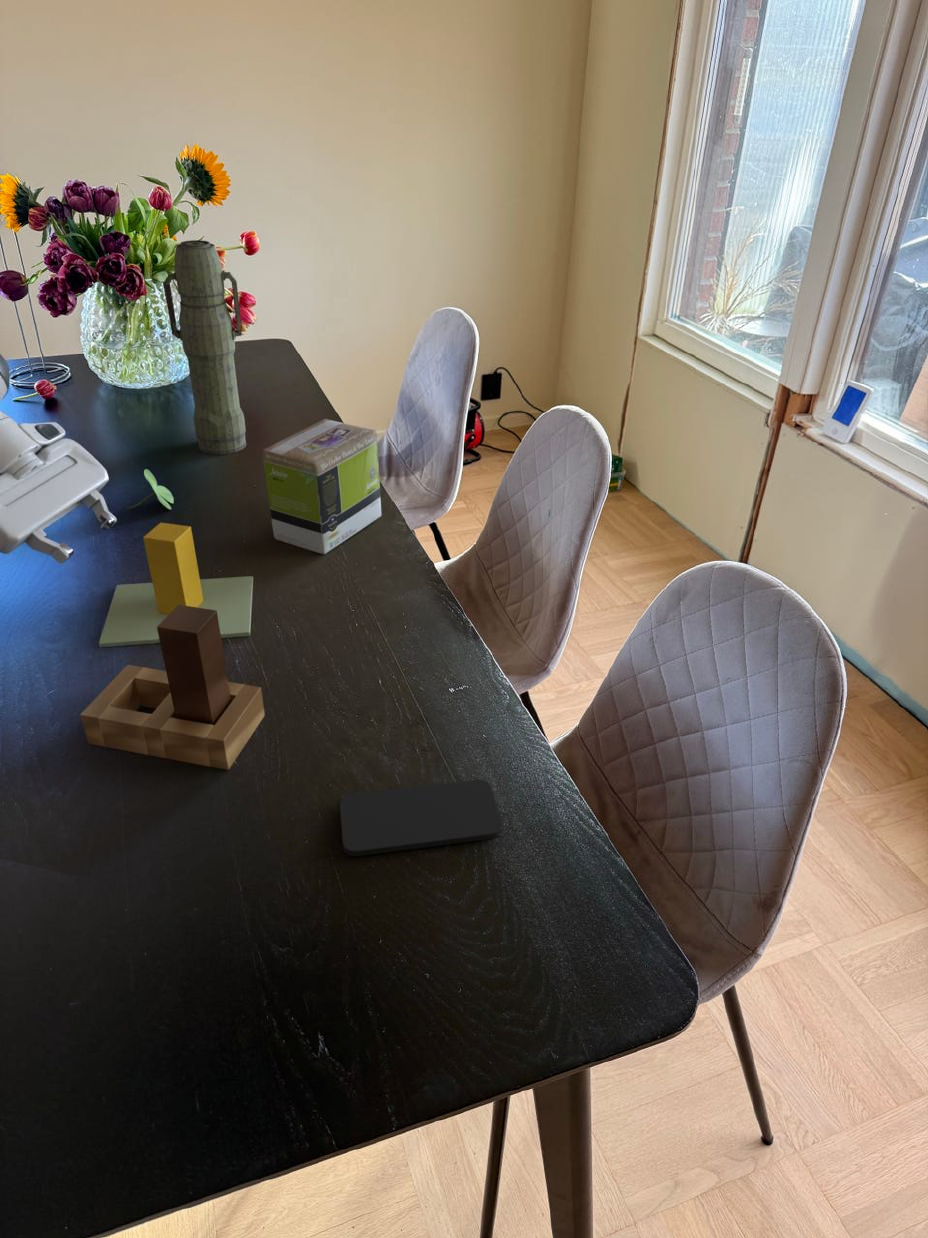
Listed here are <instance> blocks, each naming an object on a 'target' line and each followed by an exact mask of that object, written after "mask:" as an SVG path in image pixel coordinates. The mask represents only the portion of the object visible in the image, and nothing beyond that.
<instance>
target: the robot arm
mask: <svg viewBox="0 0 928 1238" xmlns="http://www.w3.org/2000/svg"><path fill="white" fill-rule="evenodd" d="M10 374H11V373H10V366H9V364H8V362H7V360H6V359H5V358H4V356H3V355H2V354H1V353H0V402H1V401H2V400H3V399H4V398H5V397H6V396H7V394H8V393H9V389H10V379H11V378H10V377H11V375H10ZM65 435H66V430H65V429H64V428H63V427H62V426H61V425H60V424H59V423H57V422H55V421H47V422H34V423H33V422H32V423H31V422H20V423H18V422H16V421H15V420H14V419H13V418H12V417H11V416H9V415H8V414H6V413H5V412H3V411H1V410H0V553H1V554H4V555H9V554H10V553H12V552H13V551H15V550H16V549H19V547H21V546H22V545H24V544H26V545H27V546H28V547H29V548H30V549H31V550H33V551H36V552H38V553H42V554H45V555H48V556H50V557H51V558H53V559H54V560H55V561H57V563H58V564H62V565H63V564H64V563H65V562H67V561H68V560H69V559H70V558H71V557H72V556H73V555H74V553H75V551H74V550H73V548H71V547H69V545H68V544H67V543H66V542H65V541H62V542H61V543H58V542H56V541H54V540H52V539H49V538H47V537H46V536H47V533H46V532H45V531H44V530H46V529H47V528H48V527H50V526H52V525H53V524H54V523H55V522H57V521H59V520H60V519H62V518H63V517H64V516H66V515H67V514H69V513H70V512H72V511H73V510H75V509H76V508H78V507H79V506H81V505H83V506H85V507H86V509H88V510H90V509H92V512H93V513H94V515H95V517H96V520H95V521H94V523H95V524H96V525H97V526H99V527H100V528H101V530H103V531H107V530H109V529H110V528H112V527H113V526H114V525H115V524H116V523H117V517H116V516H115V515H114V514H113V513H112V512H111V511H110V510H109V508H108V505H107V503H106V500H105V498H104V496H103V495H102V494H101V493H100V491H101V490H102V489H103V488H104V487H106V485H107V484H108V482H109V481H110V477H109V474H108V470H107V469H106V468H105V466H103V465H102V464H101V463H100V461H98V459H96V458H95V457H94V456H93V454H91V453H90V452H89V451H87V449H86V448H85V447H83V446H82V445H81V444H80V443H78V442H77V441H75V440H73V439H71V438H66V437H65ZM64 437H65V438H64Z"/></svg>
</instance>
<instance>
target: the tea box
mask: <svg viewBox="0 0 928 1238" xmlns="http://www.w3.org/2000/svg"><path fill="white" fill-rule="evenodd" d="M262 456H263V457H262V459H263V466H264V473H265V479H266V489H267V494H268V503H269V511H270V518H271V526H272V533H273V538H274V539H275V540H277V541H279V542H283V543H285V544H289V545H292V546H295V547H297V548H301V549H304V550H307V551H311V552H314V553H318V554H321V555H326V554H327V553H329V552H330V551H332V550H333V549H335V548H336V547H338V546H339V545H340V544H342V543H343V542H345V541H347V540H348V539H349V538H351V537H352V536H354V535H356V534H357V533H359V532H360V531H362V530H363V529H364V528H367V526H369V525H370V524H371V523H374V521H377V520H378V519H379V518H381V517H382V500H381V486H380V485H381V484H380V482H381V481H380V467H379V466H380V465H379V452H378V437H377V430H376V429H372V428H368V427H362V426H358V425H353V424H350V423H345V422H340V421H336V420H331V419H328V418H324V419H322V420H319V421H318V422H316V423H314V424H312V425H310V426H308V427H305V428H304V429H302V430H300V431H298V432H296V433H294V434H292V435H290V436H288V437H286V438H284V439H282V440H280V441H278V442H276V443H274V444H272V445H271V446H269V447H266V448H264V449H262Z"/></svg>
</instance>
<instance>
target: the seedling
mask: <svg viewBox="0 0 928 1238" xmlns="http://www.w3.org/2000/svg"><path fill="white" fill-rule="evenodd" d="M143 475H144V477H145V479H146V481H147V482H148V484H149V485H150V486H151V488H152V490H153V492H152V493H151V494H149V495H148V496H146V497H145V498H144V499H142V500H141V501H140V502H138V503H136V504H133V505H131V506H129V507H128V508H126V511H129V510H131V509H132V508H135V507H138V506H139V505H142V503H143V502H145V501H146V500H147V499H149V498H150V497H152V496H153V495H156V496H157V499H158V501H159V502H160V503H161V504H162V505H163V506H164V507H165V508H166V509H168V510H172V507H171V505H170V504H174V503H175V501H174V500H175V499H174V496H173V494H172V492H171V491H170V489H168V488H167V487H165V486H163V485H158V482H157V479H156V478H155V476H154V474H153V473H152V472H151V471H150V469H147V468H145V469H144V471H143ZM168 502H169V503H170V504H169V503H168Z"/></svg>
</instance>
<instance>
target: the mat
mask: <svg viewBox="0 0 928 1238" xmlns="http://www.w3.org/2000/svg"><path fill="white" fill-rule="evenodd" d="M200 583H201V589H202V595H203V602H202V603H201V604H200V605H199V606H198V608H204V609H211V610H217V615H218V621H219V627H220V634H221V639H228V638H242V637H250V636H251V628H252V627H251V624H252V607H253V591H254V576H253V575H249V576H232V577H231V576H230V577H218V578H217V577H216V578H203V579H202V578H200ZM168 615H169V614H164V613H159V612H158V607H157V602H156V597H155V592H154V588H153V583H152V582H141V583H140V582H139V583H125V584H116V587H115V590H114V593H113V596H112V599H111V603H110V606H109V608H108V612H107V616H106V619H105V621H104V625H103V628H102V631H101V635H100V638H99V641H98V648H112V647H122V646H124V647H125V646H137V645H149V644H160V640H159V635H158V630H157V626H158V625H159V624H160V623H161V622H162V621H163V620H164V619H165V618H166V617H167V616H168Z"/></svg>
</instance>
